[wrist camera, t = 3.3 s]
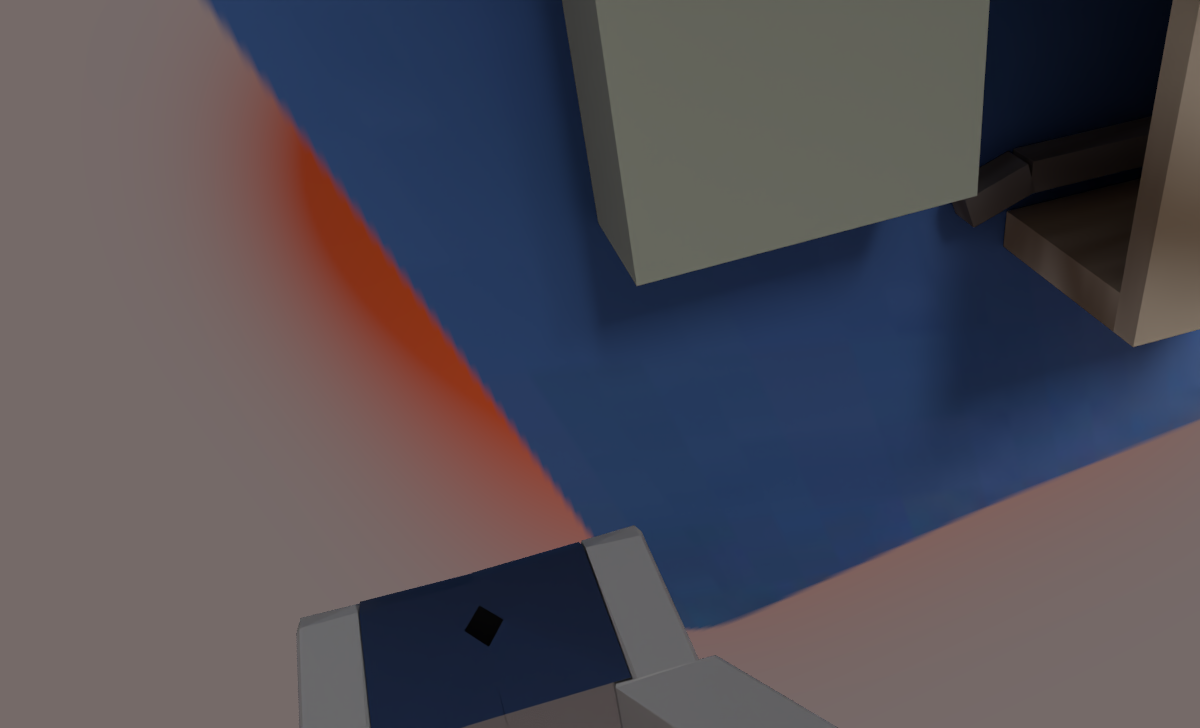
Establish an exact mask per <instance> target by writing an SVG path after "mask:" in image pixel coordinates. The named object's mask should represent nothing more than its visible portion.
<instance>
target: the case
mask: <svg viewBox="0 0 1200 728" xmlns="http://www.w3.org/2000/svg"><path fill="white" fill-rule="evenodd" d="M562 4H563V10H564V16H565V22H566V28H567V35H568V41H569V47H570V53H571V59H572V65H573V71H574V77H575V84H576V90H577V96H578V102H579V108H580V114H581V120H582V126H583V133H584V139H585V145H586V151H587V157H588V163H589V169H590V175H591V182H592V188H593V194H594V200H595V206H596V212H597V218H598V223H599V225H600V227H601V228H602V230H603V231H604V233H605V235H606V236H607V238H608V240H609V241H610V243H611V245H612V246H613V248H614V249H615V251H616V253H617V254H618V256H619V258H620V259H621V261H622V263H623V264H624V266H625V268H626V269H627V271H628V272H629V274H630V276H631V277H632V279H633V281H634V282H635V284H636V286H639V285H643V284H647V283H650V282H654V281H658V280H662V279H665V278H669V277H673V276H677V275H680V274H684V273H688V272H692V271H695V270H699V269H703V268H707V267H711V266H714V265H718V264H722V263H726V262H729V261H733V260H737V259H741V258H744V257H748V256H752V255H756V254H760V253H763V252H767V251H771V250H775V249H778V248H782V247H786V246H790V245H793V244H797V243H801V242H805V241H809V240H812V239H816V238H820V237H824V236H827V235H831V234H835V233H839V232H842V231H846V230H850V229H854V228H857V227H861V226H865V225H869V224H873V223H876V222H880V221H884V220H888V219H891V218H895V217H899V216H903V215H906V214H910V213H914V212H918V211H922V210H925V209H929V208H933V207H937V206H940V205H944V204H948V203H952V202H955V201H959V200H963V199H967V198H971V197H974V196H977V190H978V175H979V159H980V144H981V128H982V113H983V97H984V81H985V66H986V50H987V35H988V19H989V4H990V0H562Z"/></svg>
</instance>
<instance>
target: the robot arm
mask: <svg viewBox="0 0 1200 728" xmlns="http://www.w3.org/2000/svg"><path fill="white" fill-rule="evenodd" d="M296 636H297V667H298V696H299V697H298V698H299V728H838V727H836V726H834V725H833V724H831V723H829V722H827V721H826V720H824V719H822V718H821V717H819V716H817V715H816V714H814V713H812V712H811V711H809V710H807V709H806V708H804V707H802V706H800V705H799V704H797V703H795V702H794V701H792V700H790V699H789V698H787V697H785V696H784V695H782V694H780V693H779V692H777V691H775V690H773V689H772V688H770V687H768V686H767V685H765V684H763V683H762V682H760V681H758V680H757V679H755V678H753V677H752V676H750V675H748V674H747V673H745V672H743V671H741V670H740V669H738V668H736V667H735V666H733V665H731V664H729V663H728V662H726V661H725V660H723V659H721V658H720V657H718V656H716V655H714V656H711V657H707V658H703V659H698V657H697V655H696V652H695V650H694V648H693V645H692V643H691V641H690V639H689V637H688V634H687V632H686V630H685V628H684V625H683V623H682V621H681V619H680V616H679V614H678V612H677V610H676V608H675V605H674V603H673V601H672V599H671V596H670V594H669V592H668V590H667V587H666V585H665V583H664V581H663V579H662V576H661V574H660V572H659V570H658V567H657V565H656V563H655V561H654V559H653V556H652V554H651V552H650V550H649V547H648V545H647V543H646V541H645V538H644V536H643V534H642V532H641V531H640V530H639V529H638V528H637V527H635V526H630V527H627V528H623V529H620V530H616V531H613V532H610V533H606V534H603V535H599V536H596V537H593V538H589V539H586V540H582V542H581V544H580V543H579V542H577V543H574V544H570V545H567V546H563V547H560V548H556V549H553V550H549V551H546V552H543V553H539V554H536V555H532V556H529V557H525V558H522V559H519V560H515V561H511V562H508V563H504V564H501V565H498V566H494V567H490V568H487V569H484V570H480V571H477V572H473V573H472V574H468V575H464V576H460V577H456V578H452V579H448V580H444V581H440V582H436V583H433V584H429V585H425V586H421V587H417V588H413V589H409V590H405V591H401V592H397V593H393V594H389V595H385V596H382V597H377V598H374V599H370V600H366V601H362V602H360V604H356V605H352V606H348V607H344V608H340V609H336V610H332V611H328V612H324V613H320V614H315V615H312V616H307V617H303V618H301V619H300V623H299V626H298V630H297V633H296Z"/></svg>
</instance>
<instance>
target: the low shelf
mask: <svg viewBox="0 0 1200 728" xmlns="http://www.w3.org/2000/svg"><path fill="white" fill-rule="evenodd" d="M1139 167H1143V169H1142V175H1141V178H1139V179H1135V180H1131V181H1127V182H1123V183H1119V184H1115V185H1111V186H1107V187H1103V188H1099V189H1095V190H1091V191H1087V192H1083V193H1079V194H1074V195H1070V196H1066V197H1062V198H1058V199H1054V200H1050V201H1046V202H1042V203H1038V204H1034V205H1030V206H1026V207H1022V208H1018V209H1013V210H1009V211H1007V216H1006V225H1005V235H1004V245H1003V247H1005V248H1006V249H1007V250H1009V251H1010V252H1011V253H1012V254H1014V255H1015V256H1016V257H1018V258H1019V259H1020V260H1021V261H1023V262H1024V263H1025V264H1027V265H1028V266H1029V267H1031V268H1032V269H1033V270H1034V271H1036V272H1037V273H1038V274H1040V275H1041V276H1042V277H1043V278H1045V279H1046V280H1047V281H1049V282H1050V283H1051V284H1052V285H1054V286H1055V287H1056V288H1058V289H1059V290H1060V291H1061V292H1063V293H1064V294H1065V295H1067V296H1068V297H1069V298H1070V299H1072V300H1073V301H1074V302H1076V303H1077V304H1078V305H1079V306H1081V307H1082V308H1083V309H1085V310H1086V311H1087V312H1088V313H1090V314H1091V315H1092V316H1094V317H1095V318H1096V319H1097V320H1099V321H1100V322H1101V323H1103V324H1104V325H1105V326H1106V327H1108V328H1109V329H1110V330H1112V331H1113V332H1114V333H1115V334H1117V335H1118V336H1119V337H1121V338H1122V339H1123V340H1125V341H1126V342H1127V343H1128V344H1130V345H1131V346H1132V347H1136V346H1139V345H1143V344H1147V343H1150V342H1154V341H1158V340H1161V339H1165V338H1169V337H1173V336H1176V335H1180V334H1184V333H1187V332H1191V331H1195V330H1198V329H1200V0H1173V2H1172V8H1171V13H1170V19H1169V24H1168V30H1167V35H1166V41H1165V46H1164V52H1163V58H1162V63H1161V69H1160V74H1159V80H1158V85H1157V91H1156V97H1155V102H1154V108H1153V113H1152V116H1150V117H1146V118H1141V119H1137V120H1133V121H1129V122H1125V123H1120V124H1116V125H1112V126H1108V127H1103V128H1099V129H1095V130H1091V131H1087V132H1082V133H1078V134H1074V135H1070V136H1066V137H1061V138H1057V139H1053V140H1049V141H1044V142H1040V143H1036V144H1032V145H1028V146H1023V147H1019V148H1015V149H1013V154H1012V153H1010V152H1009V151H1007V152H1005V153H1004V154H1002V155H1000V156H999V157H997V158H995V159H994V160H992V161H990V162H988V163H987V164H985V165H983V166H982V167H980V168H979V175H978V190H977V196H974V197H971V198H967V199H963V200H959V201H955V202H952V204H953V207H954V210H955V213H956V214H957V215H958V216H960V217H961V218H962V219H963V220H965V221H966V222H967V223H968V224H970V225H971V226H972V227H976V226H978V225H979V224H981V223H983V222H985V221H986V220H988V219H990V218H991V217H993V216H995V215H997V214H998V213H1000V212H1002V211H1003V210H1005V209H1007V208H1008V207H1010V206H1012V205H1014V204H1015V203H1017V202H1019V201H1020V200H1022V199H1024V198H1026V197H1027V196H1029V195H1031V194H1032V193H1036V192H1040V191H1044V190H1049V189H1053V188H1057V187H1061V186H1065V185H1069V184H1073V183H1077V182H1081V181H1085V180H1089V179H1094V178H1098V177H1102V176H1106V175H1110V174H1114V173H1118V172H1122V171H1126V170H1130V169H1134V168H1139Z"/></svg>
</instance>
